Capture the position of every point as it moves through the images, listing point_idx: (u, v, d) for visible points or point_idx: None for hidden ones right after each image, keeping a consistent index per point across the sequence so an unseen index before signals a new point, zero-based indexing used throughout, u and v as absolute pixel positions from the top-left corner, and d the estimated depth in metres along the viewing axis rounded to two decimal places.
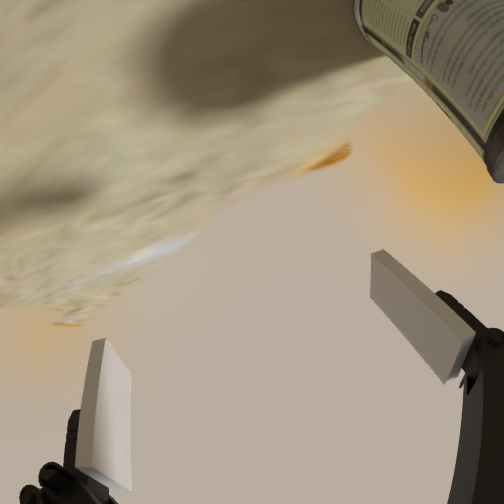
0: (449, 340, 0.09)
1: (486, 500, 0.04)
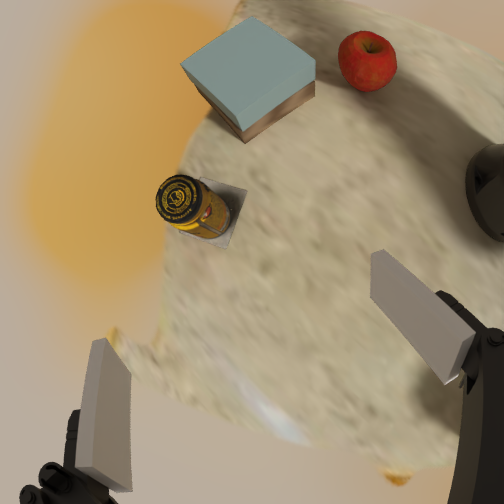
0: (449, 340, 0.09)
1: (485, 500, 0.04)
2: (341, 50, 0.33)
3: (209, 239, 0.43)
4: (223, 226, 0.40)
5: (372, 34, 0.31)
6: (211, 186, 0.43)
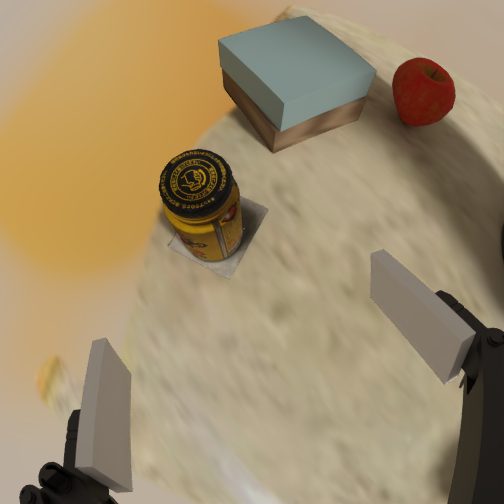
0: (449, 340, 0.09)
1: (485, 500, 0.04)
2: (402, 71, 0.29)
3: (208, 262, 0.31)
4: (233, 246, 0.30)
5: (435, 63, 0.28)
6: None
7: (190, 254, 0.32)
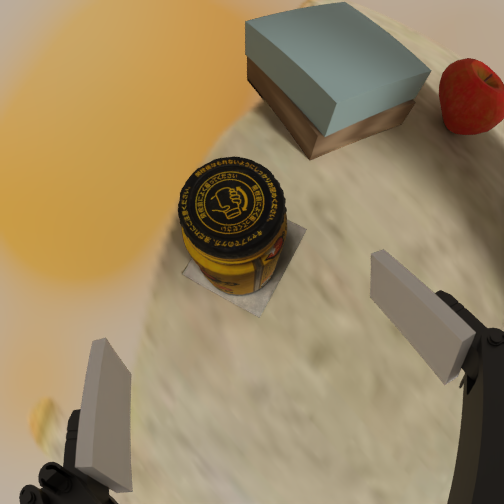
0: (449, 340, 0.09)
1: (486, 500, 0.04)
2: (454, 72, 0.23)
3: (233, 296, 0.25)
4: (267, 279, 0.23)
5: (486, 66, 0.22)
6: None
7: (210, 285, 0.25)
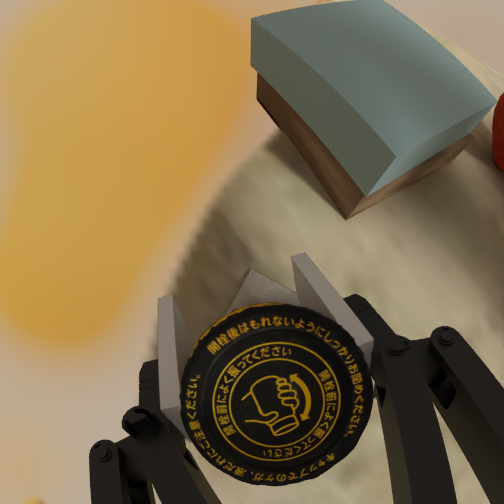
0: None
1: None
2: None
3: None
4: None
5: None
6: (274, 296, 0.20)
7: None
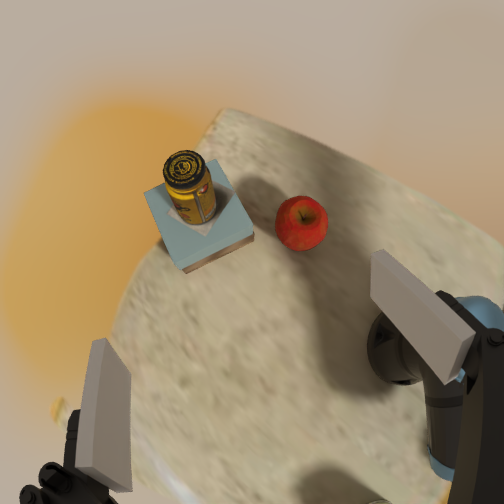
0: (449, 340, 0.09)
1: (485, 500, 0.04)
2: (278, 214, 0.47)
3: (192, 225, 0.46)
4: (209, 214, 0.44)
5: (310, 202, 0.46)
6: None
7: (181, 219, 0.46)
